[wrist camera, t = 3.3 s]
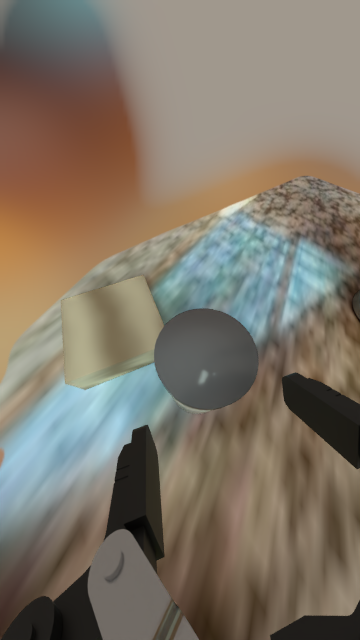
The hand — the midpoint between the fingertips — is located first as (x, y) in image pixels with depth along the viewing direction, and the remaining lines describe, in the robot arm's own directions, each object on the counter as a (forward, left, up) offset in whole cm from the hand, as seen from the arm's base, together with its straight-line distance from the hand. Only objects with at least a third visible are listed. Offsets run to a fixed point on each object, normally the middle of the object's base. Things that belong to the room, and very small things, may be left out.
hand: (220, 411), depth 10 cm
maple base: (+6, -12, -8) cm, 15 cm away
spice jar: (0, -3, -8) cm, 9 cm away
